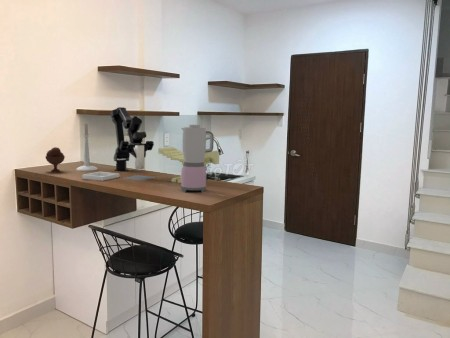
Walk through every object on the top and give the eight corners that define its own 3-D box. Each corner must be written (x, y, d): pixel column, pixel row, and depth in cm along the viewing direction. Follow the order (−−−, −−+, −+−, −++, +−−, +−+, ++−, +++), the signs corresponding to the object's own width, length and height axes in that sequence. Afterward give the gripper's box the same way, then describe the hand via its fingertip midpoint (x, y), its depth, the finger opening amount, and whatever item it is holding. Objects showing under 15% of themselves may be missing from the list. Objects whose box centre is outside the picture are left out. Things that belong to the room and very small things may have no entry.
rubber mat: (136, 175, 219) (136, 175, 219) (156, 177, 214) (157, 177, 214) (121, 179, 206) (121, 178, 206) (143, 181, 201) (143, 180, 201)
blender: (181, 193, 174) (182, 124, 169) (179, 188, 186) (180, 124, 181) (214, 192, 177) (216, 125, 173) (210, 187, 189) (211, 125, 184)
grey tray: (99, 175, 215) (99, 171, 215) (119, 177, 210) (119, 173, 210) (82, 179, 203) (82, 174, 202) (102, 181, 197) (102, 177, 197)
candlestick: (77, 171, 229) (76, 123, 225) (75, 168, 240) (73, 122, 236) (99, 170, 235) (98, 123, 231) (95, 167, 246) (94, 122, 242)
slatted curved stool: (218, 181, 207) (219, 150, 205) (203, 186, 193) (204, 152, 191) (175, 176, 221) (175, 146, 219) (158, 179, 208) (158, 148, 205)
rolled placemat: (138, 167, 212) (138, 145, 211) (145, 168, 211) (145, 145, 209) (133, 168, 208) (133, 145, 206) (140, 169, 206) (140, 146, 204)
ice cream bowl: (68, 170, 232) (67, 146, 230) (58, 173, 221) (58, 148, 219) (52, 169, 233) (51, 146, 231) (42, 172, 222) (41, 147, 220)
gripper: (120, 126, 204) (127, 148, 197) (152, 127, 214) (160, 147, 206) (116, 139, 212) (122, 161, 204) (148, 139, 222) (154, 160, 214)
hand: (140, 157), depth 207 cm, fingers closed on rolled placemat, 5 cm apart
